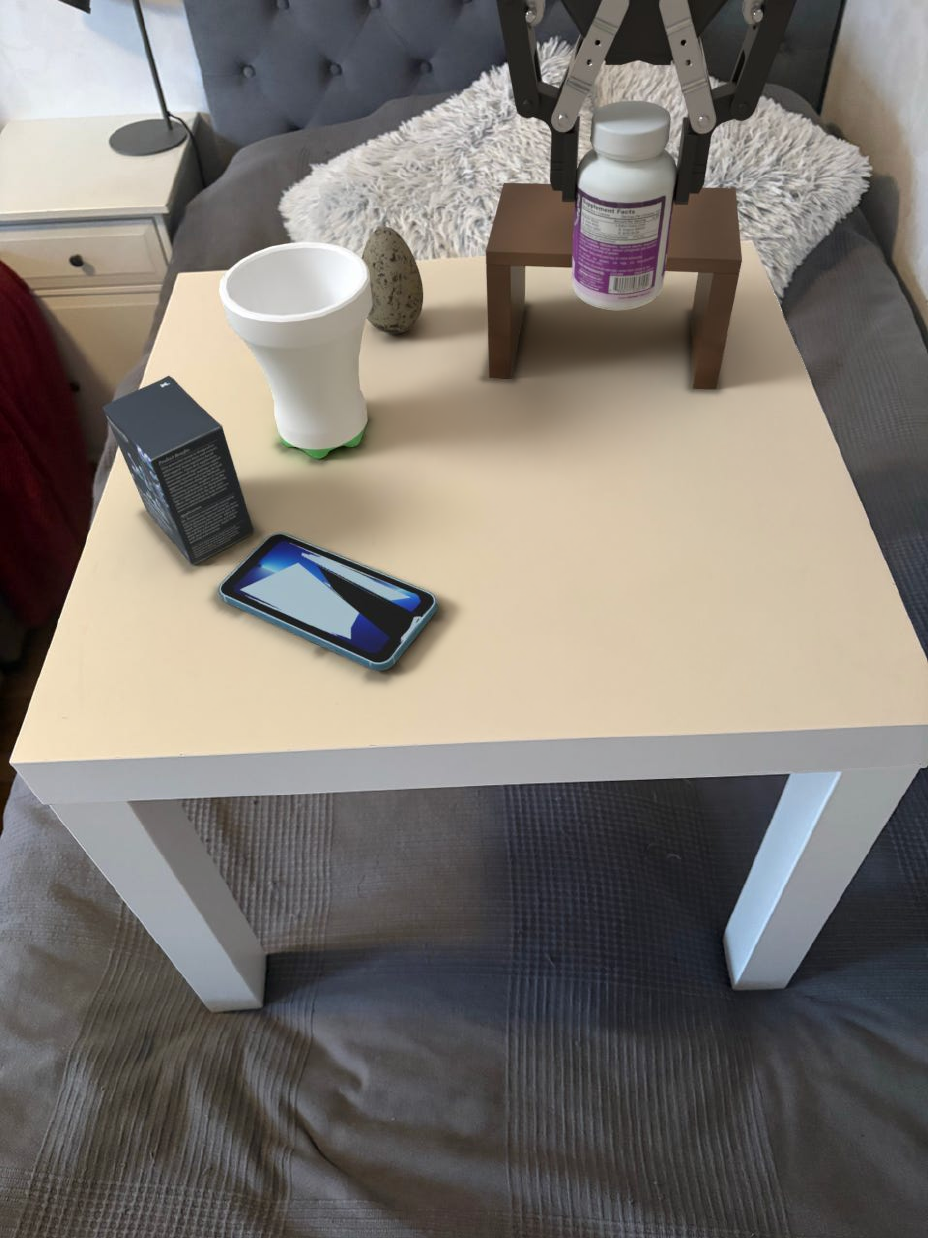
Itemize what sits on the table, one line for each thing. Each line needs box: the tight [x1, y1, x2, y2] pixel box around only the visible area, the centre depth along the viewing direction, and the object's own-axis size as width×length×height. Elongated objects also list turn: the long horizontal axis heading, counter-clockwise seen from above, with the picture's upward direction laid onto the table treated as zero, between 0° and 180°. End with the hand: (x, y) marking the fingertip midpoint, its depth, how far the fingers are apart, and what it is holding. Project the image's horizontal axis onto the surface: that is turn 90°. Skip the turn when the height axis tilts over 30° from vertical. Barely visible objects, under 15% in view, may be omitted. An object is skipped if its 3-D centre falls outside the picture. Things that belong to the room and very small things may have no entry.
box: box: [102, 375, 255, 565], centre depth 68 cm, size 8×6×11 cm
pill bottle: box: [571, 100, 677, 312], centre depth 50 cm, size 5×5×10 cm
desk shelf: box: [485, 182, 743, 390], centre depth 80 cm, size 20×12×12 cm, turn 82°
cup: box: [218, 241, 373, 459], centre depth 73 cm, size 11×11×14 cm
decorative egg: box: [361, 226, 424, 335], centre depth 84 cm, size 6×6×10 cm
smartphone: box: [218, 532, 438, 672], centre depth 65 cm, size 7×1×15 cm
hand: (625, 195), depth 50 cm, fingers closed on pill bottle, 5 cm apart
